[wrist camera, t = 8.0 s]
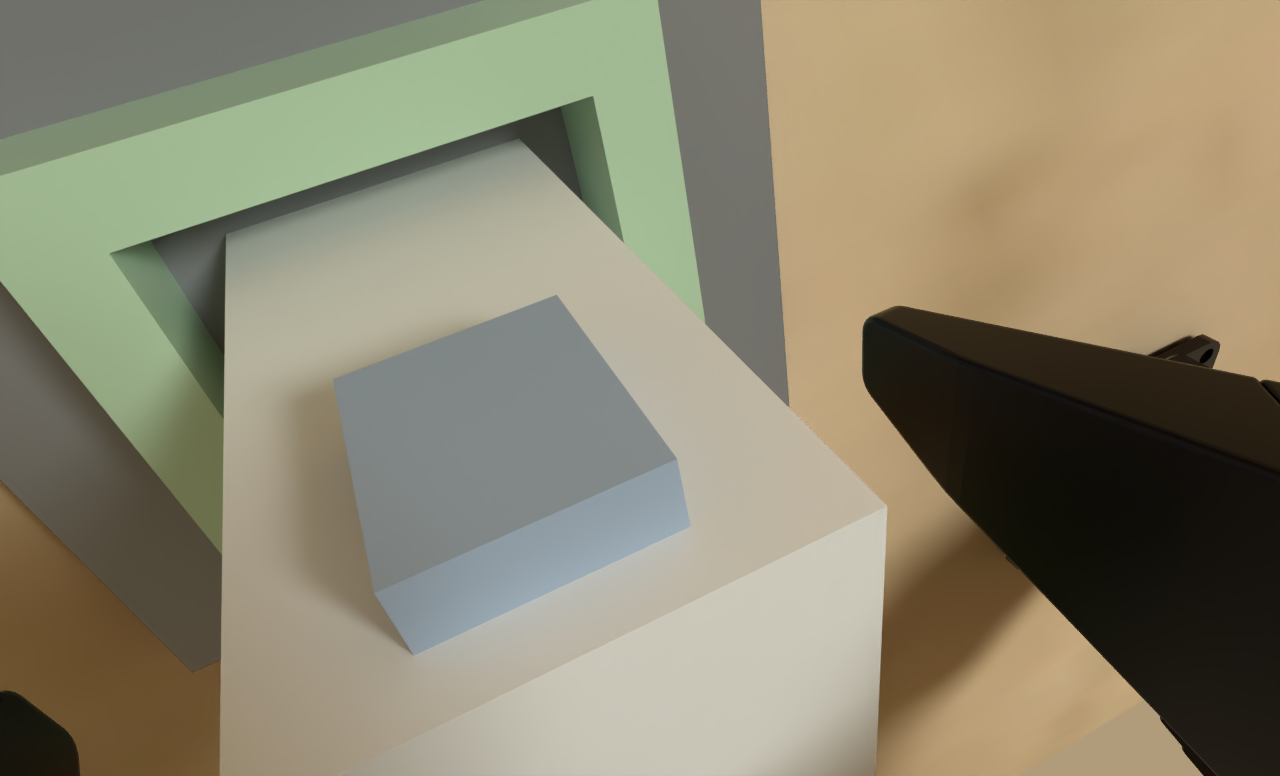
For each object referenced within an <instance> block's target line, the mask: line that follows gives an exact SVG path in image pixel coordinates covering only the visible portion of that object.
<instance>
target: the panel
mask: <svg viewBox="0 0 1280 776" xmlns="http://www.w3.org/2000/svg"><path fill="white" fill-rule="evenodd" d="M518 138H519V139H520V140H521V141H522V142H523V143H524V144H525V145H526V146H527V147H528V148H529V149H530V150H531V151H532V152H533V153H534V154H535V155H536V156H537V157H538V158H539V159H540V160H541V161H542V162H543V163H544V164H545V165H546V166H547V167H548V168H549V169H550V170H551V171H552V172H553V173H554V174H555V175H556V176H557V177H558V178H559V179H560V180H561V181H562V182H563V183H564V184H565V185H566V186H567V187H568V188H569V189H570V190H571V191H572V192H573V193H574V194H575V195H576V196H577V197H578V198H579V199H580V200H581V201H582V202H583V203H584V204H585V205H586V206H587V207H588V208H589V209H590V210H591V211H592V212H593V213H594V214H595V215H596V216H597V217H598V218H599V219H600V220H601V221H602V222H603V223H604V224H605V225H606V226H607V227H608V228H609V229H610V230H611V231H612V232H613V233H614V234H615V235H616V236H617V237H618V238H619V239H620V240H621V241H622V242H623V243H624V244H625V245H626V246H627V247H628V248H629V249H630V250H631V251H632V252H633V253H634V254H635V255H636V256H637V257H638V258H639V259H640V260H641V261H642V262H643V263H644V264H645V265H646V266H647V267H648V268H649V269H650V270H651V271H652V272H653V273H654V274H655V275H656V276H657V277H658V278H659V279H660V280H661V281H662V282H663V283H664V284H665V285H666V286H667V287H668V288H669V289H670V290H671V291H672V292H674V293H675V294H676V295H677V296H678V297H679V298H680V299H681V300H682V301H683V302H684V303H685V304H686V305H687V306H688V307H689V308H690V309H691V310H692V311H693V312H694V313H695V314H696V315H697V316H698V317H699V318H700V319H701V320H702V321H703V322H704V323H705V324H706V325H707V326H708V327H709V328H710V329H711V330H712V331H713V332H714V333H715V334H716V335H717V336H718V337H719V338H720V339H721V340H722V341H723V342H724V343H725V344H726V345H727V346H728V347H729V348H730V349H731V350H732V351H733V352H734V353H735V354H736V355H737V356H738V357H739V358H740V359H741V360H742V361H743V362H744V363H745V364H746V365H747V366H748V367H749V368H750V369H751V370H752V371H753V372H754V373H755V374H756V375H757V376H758V377H759V378H760V379H761V380H762V381H763V382H764V383H765V384H766V385H767V386H768V387H769V388H770V389H771V390H772V391H773V392H774V393H775V394H776V395H777V396H778V397H779V398H780V399H781V400H782V401H783V402H784V403H785V404H786V405H787V406H789V395H788V381H787V367H786V353H785V339H784V325H783V311H782V297H781V283H780V269H779V255H778V240H777V226H776V212H775V198H774V184H773V170H772V156H771V142H770V128H769V114H768V99H767V85H766V71H765V57H764V43H763V29H762V15H761V1H760V0H0V480H1V481H2V482H3V483H4V484H5V485H6V486H7V487H8V488H9V489H10V490H11V491H12V492H13V493H14V494H15V495H16V496H17V497H18V498H19V499H20V500H21V501H22V502H23V503H24V504H25V505H26V506H27V507H28V508H29V509H30V510H31V511H32V512H33V513H34V514H35V515H36V516H37V517H38V518H39V519H40V520H41V521H42V522H43V523H44V524H45V525H46V526H47V527H48V528H49V529H50V530H51V531H52V532H53V533H54V534H55V535H56V536H57V537H58V538H59V539H60V540H61V541H62V542H63V543H64V544H65V545H66V546H67V547H68V548H69V549H70V550H71V551H72V552H73V553H74V554H75V555H76V556H77V557H78V558H79V559H80V560H81V561H82V562H83V564H84V565H85V566H86V567H87V568H88V569H89V570H90V571H91V572H92V573H93V574H94V575H95V576H96V577H97V578H98V579H99V580H100V581H101V582H102V583H103V584H104V585H105V586H106V587H107V588H108V589H109V590H110V591H111V592H112V593H113V594H114V595H115V596H116V597H117V598H118V599H119V600H120V601H121V602H122V603H123V604H124V605H125V606H126V607H127V608H128V609H129V610H130V611H131V612H132V613H133V614H134V615H135V616H136V617H137V618H138V619H139V620H140V621H141V622H142V623H143V624H144V625H145V626H146V627H147V628H148V629H149V630H150V631H151V632H152V633H153V634H154V635H155V636H156V637H157V638H158V639H159V640H160V641H161V642H162V643H163V644H164V645H165V646H166V647H167V648H168V649H169V650H170V651H171V652H172V653H173V654H174V655H175V656H176V657H177V658H178V659H179V660H180V661H181V662H182V663H183V664H184V665H185V666H186V667H187V668H188V669H189V670H190V671H191V672H194V671H197V670H199V669H201V668H203V667H206V666H208V665H210V664H212V663H215V662H217V661H219V660H221V610H222V527H223V444H224V361H225V279H226V234H228V233H231V232H234V231H237V230H240V229H243V228H246V227H249V226H252V225H255V224H258V223H261V222H264V221H268V220H271V219H274V218H277V217H280V216H283V215H286V214H289V213H292V212H295V211H298V210H301V209H304V208H307V207H310V206H313V205H316V204H320V203H323V202H326V201H329V200H332V199H335V198H338V197H341V196H344V195H347V194H350V193H353V192H356V191H359V190H362V189H365V188H369V187H372V186H375V185H378V184H381V183H384V182H387V181H390V180H393V179H396V178H399V177H402V176H405V175H408V174H411V173H414V172H417V171H421V170H424V169H427V168H430V167H433V166H436V165H439V164H442V163H445V162H448V161H451V160H454V159H457V158H460V157H463V156H466V155H470V154H473V153H476V152H479V151H482V150H485V149H488V148H491V147H494V146H497V145H500V144H503V143H506V142H509V141H512V140H515V139H518Z"/></svg>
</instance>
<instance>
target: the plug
mask: <svg viewBox="0 0 1280 776" xmlns="http://www.w3.org/2000/svg"><path fill="white" fill-rule="evenodd" d="M886 525H887V505H886V504H885V503H884V502H883V501H882V500H881V499H880V498H879V497H878V496H877V495H876V494H875V493H874V492H873V491H872V490H871V489H870V488H869V487H868V486H867V485H866V484H865V483H864V482H863V481H862V480H861V479H860V478H859V477H858V476H857V475H856V474H855V473H854V472H853V471H852V470H851V469H850V468H849V467H848V466H847V465H846V464H845V463H844V462H843V461H842V460H841V459H840V458H839V457H838V456H837V455H836V454H835V453H834V452H833V451H832V450H831V449H830V448H829V447H828V446H827V445H826V444H825V443H824V442H823V441H822V440H821V439H820V438H819V437H818V436H817V435H816V434H815V433H814V432H813V431H812V430H811V429H810V428H809V427H808V426H807V425H806V424H805V423H804V422H803V421H802V420H801V419H800V418H799V417H798V416H797V415H796V414H795V413H794V412H793V411H792V410H791V409H790V408H789V407H788V406H787V405H786V404H785V403H784V402H783V401H782V400H781V399H780V398H779V397H778V396H777V395H776V394H775V393H774V392H773V391H772V390H771V389H770V388H769V387H768V386H767V385H766V384H765V383H764V382H763V381H762V380H761V379H760V378H759V377H758V376H757V375H756V374H755V373H754V372H753V371H752V370H751V369H750V368H749V367H748V366H747V365H746V364H745V363H744V362H743V361H742V360H741V359H740V358H739V357H738V356H737V355H736V354H735V353H734V352H733V351H732V350H731V349H730V348H729V347H728V346H727V345H726V344H725V343H724V342H723V341H722V340H721V339H720V338H719V337H718V336H717V335H716V334H715V333H714V332H713V331H712V330H711V329H710V328H709V327H708V326H707V325H706V324H705V323H704V322H703V321H702V320H701V319H700V318H699V317H698V316H697V315H696V314H695V313H694V312H693V311H692V310H691V309H690V308H689V307H688V306H687V305H686V304H685V303H684V302H683V301H682V300H681V299H680V298H679V297H678V296H677V295H676V294H675V293H674V292H672V291H671V290H670V289H669V288H668V287H667V286H666V285H665V284H664V283H663V282H662V281H661V280H660V279H659V278H658V277H657V276H656V275H655V274H654V273H653V272H652V271H651V270H650V269H649V268H648V267H647V266H646V265H645V264H644V263H643V262H642V261H641V260H640V259H639V258H638V257H637V256H636V255H635V254H634V253H633V252H632V251H631V250H630V249H629V248H628V247H627V246H626V245H625V244H624V243H623V242H622V241H621V240H620V239H619V238H618V237H617V236H616V235H615V234H614V233H613V232H612V231H611V230H610V229H609V228H608V227H607V226H606V225H605V224H604V223H603V222H602V221H601V220H600V219H599V218H598V217H597V216H596V215H595V214H594V213H593V212H592V211H591V210H590V209H589V208H588V207H587V206H586V205H585V204H584V203H583V202H582V201H581V200H580V199H579V198H578V197H577V196H576V195H575V194H574V193H573V192H572V191H571V190H570V189H569V188H568V187H567V186H566V185H565V184H564V183H563V182H562V181H561V180H560V179H559V178H558V177H557V176H556V175H555V174H554V173H553V172H552V171H551V170H550V169H549V168H548V167H547V166H546V165H545V164H544V163H543V162H542V161H541V160H540V159H539V158H538V157H537V156H536V155H535V154H534V153H533V152H532V151H531V150H530V149H529V148H528V147H527V146H526V145H525V144H524V143H523V142H522V141H521V140H520V139H519V138H518V139H515V140H512V141H509V142H506V143H503V144H500V145H497V146H494V147H491V148H488V149H485V150H482V151H479V152H476V153H473V154H470V155H466V156H463V157H460V158H457V159H454V160H451V161H448V162H445V163H442V164H439V165H436V166H433V167H430V168H427V169H424V170H421V171H417V172H414V173H411V174H408V175H405V176H402V177H399V178H396V179H393V180H390V181H387V182H384V183H381V184H378V185H375V186H372V187H369V188H365V189H362V190H359V191H356V192H353V193H350V194H347V195H344V196H341V197H338V198H335V199H332V200H329V201H326V202H323V203H320V204H316V205H313V206H310V207H307V208H304V209H301V210H298V211H295V212H292V213H289V214H286V215H283V216H280V217H277V218H274V219H271V220H268V221H264V222H261V223H258V224H255V225H252V226H249V227H246V228H243V229H240V230H237V231H234V232H231V233H228V234H226V279H225V361H224V444H223V527H222V610H221V693H220V776H876V756H877V733H878V710H879V687H880V664H881V641H882V618H883V595H884V571H885V548H886Z"/></svg>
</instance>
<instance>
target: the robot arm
mask: <svg viewBox="0 0 1280 776" xmlns="http://www.w3.org/2000/svg"><path fill="white" fill-rule="evenodd" d="M1219 349H1220V343H1219V342H1218V341H1216V340H1214V339H1212V338H1210V337H1208V336H1206V335H1203V334H1202V335H1199V336H1197V337H1195V338H1192V339H1190V340H1188V341H1186V342H1184V343H1182V344H1180V345H1178V346H1176V347H1174V348H1172V349H1170V350H1168V351H1166V352H1164V353H1162V354H1160V355H1158V356H1156V357H1151V356H1147V355H1142V354H1137V353H1132V352H1127V351H1122V350H1117V349H1112V348H1107V347H1102V346H1097V345H1092V344H1087V343H1082V342H1077V341H1073V340H1068V339H1063V338H1058V337H1053V336H1048V335H1043V334H1038V333H1033V332H1028V331H1023V330H1018V329H1013V328H1008V327H1003V326H999V325H994V324H989V323H984V322H979V321H974V320H969V319H964V318H959V317H954V316H949V315H944V314H939V313H934V312H929V311H925V310H920V309H915V308H910V307H905V306H894V307H891V308H889V309H886V310H884V311H882V312H880V313H877V314H875V315H873V316H870V317H869V318H868V319H867V320H866V321H865V323H864V326H863V341H862V375H863V380H864V384H865V386H866V389H867V390H868V392H869V394H870V395H871V397H872V398H873V399H874V401H875V402H876V403H877V405H878V406H879V407H880V408H881V410H882V411H883V412H884V414H885V415H886V416H887V418H888V419H889V420H890V421H891V423H892V424H893V425H894V427H895V428H896V429H897V431H898V432H899V433H900V434H901V436H902V437H903V438H904V440H905V441H906V442H907V444H908V445H909V446H910V447H911V449H912V450H913V451H914V453H915V454H916V455H917V457H918V458H919V459H920V460H921V462H922V463H923V464H924V466H925V467H926V468H927V470H928V471H929V472H930V473H931V475H932V476H933V477H934V478H935V480H936V481H937V482H938V483H939V485H940V486H941V487H942V488H943V489H944V491H945V492H946V493H947V494H948V495H949V496H950V497H951V498H952V499H953V500H954V502H955V503H956V504H957V505H958V506H959V507H960V508H961V509H962V510H963V511H964V512H965V513H966V514H967V515H968V516H969V517H970V518H971V519H972V520H973V522H974V523H975V524H976V525H977V526H978V527H979V528H980V529H981V530H982V531H983V532H984V533H985V534H986V535H987V536H988V537H989V538H990V539H991V540H992V541H993V542H994V543H995V544H996V546H997V547H998V548H999V549H1000V550H1001V551H1002V552H1003V553H1004V554H1005V555H1006V559H1007V560H1008V561H1009V562H1010V563H1011V564H1012V565H1014V566H1015V567H1016V568H1017V569H1019V570H1020V571H1021V572H1022V573H1023V574H1024V575H1025V576H1026V577H1027V578H1028V579H1029V580H1030V581H1031V582H1032V583H1033V584H1034V585H1035V586H1036V587H1037V588H1038V589H1039V590H1040V591H1041V592H1042V594H1043V595H1044V596H1045V597H1046V598H1047V599H1048V600H1049V601H1050V602H1051V603H1052V604H1053V605H1054V606H1055V607H1056V608H1057V609H1058V610H1059V611H1060V612H1061V613H1062V614H1063V615H1064V616H1065V617H1066V619H1067V620H1068V621H1069V622H1070V623H1071V624H1072V625H1073V626H1074V627H1075V628H1076V629H1077V630H1078V631H1079V632H1080V633H1081V634H1082V635H1083V636H1084V637H1085V638H1086V639H1087V640H1088V641H1089V643H1090V644H1091V645H1092V646H1093V647H1094V648H1095V649H1096V650H1097V651H1098V652H1099V653H1100V654H1101V655H1102V656H1103V657H1104V658H1105V659H1106V660H1107V661H1108V662H1109V663H1110V664H1111V665H1112V667H1113V668H1114V669H1115V670H1116V671H1117V672H1118V673H1119V674H1120V675H1121V676H1122V677H1123V678H1124V679H1125V680H1126V681H1127V682H1128V683H1129V684H1130V685H1131V686H1132V687H1133V688H1134V689H1135V691H1136V692H1137V693H1138V694H1139V695H1140V696H1141V697H1142V698H1143V699H1144V700H1145V701H1146V702H1147V703H1148V704H1149V705H1150V706H1151V707H1152V708H1153V709H1154V710H1155V711H1156V712H1157V713H1158V714H1159V716H1160V719H1161V721H1162V723H1163V724H1164V725H1165V727H1166V728H1167V729H1168V730H1169V731H1170V732H1171V734H1172V735H1173V736H1174V737H1175V738H1176V739H1177V741H1178V742H1179V743H1180V744H1181V745H1182V750H1183V751H1184V753H1185V754H1186V755H1187V757H1188V758H1189V759H1190V760H1191V761H1192V763H1193V764H1194V765H1195V766H1196V767H1197V768H1198V770H1199V771H1200V772H1201V773H1202V774H1203V775H1204V776H1280V382H1276V381H1271V380H1262V381H1260V382H1259V381H1258V380H1257V379H1256V378H1254V377H1250V376H1245V375H1240V374H1235V373H1230V372H1225V371H1221V370H1216V369H1212V368H1213V365H1214V363H1215V360H1216V357H1217V355H1218V352H1219ZM0 776H80V768H79V756H78V751H77V748H76V744H75V742H74V740H73V738H72V737H71V736H70V734H69V733H68V732H67V731H66V730H65V729H64V728H63V727H61V726H60V725H59V724H57V723H56V722H55V721H53V720H52V719H51V718H50V717H48V716H47V715H46V714H44V713H43V712H42V711H40V710H39V709H38V708H37V707H35V706H34V705H33V704H31V703H30V702H29V701H27V700H26V699H25V698H23V697H22V696H21V695H19V694H17V693H15V692H11V691H6V690H5V691H0Z"/></svg>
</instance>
